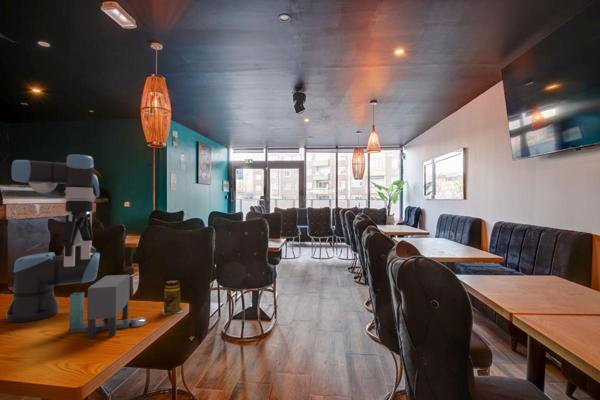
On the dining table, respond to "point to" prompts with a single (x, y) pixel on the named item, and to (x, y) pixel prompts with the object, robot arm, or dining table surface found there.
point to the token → (138, 322)
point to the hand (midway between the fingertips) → (77, 262)
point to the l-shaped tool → (78, 317)
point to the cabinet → (108, 301)
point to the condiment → (172, 298)
